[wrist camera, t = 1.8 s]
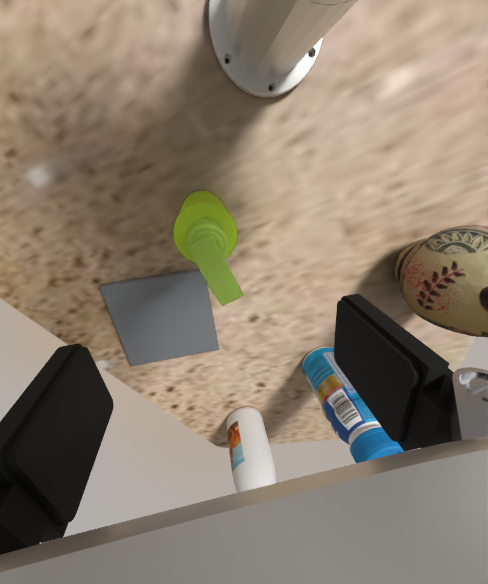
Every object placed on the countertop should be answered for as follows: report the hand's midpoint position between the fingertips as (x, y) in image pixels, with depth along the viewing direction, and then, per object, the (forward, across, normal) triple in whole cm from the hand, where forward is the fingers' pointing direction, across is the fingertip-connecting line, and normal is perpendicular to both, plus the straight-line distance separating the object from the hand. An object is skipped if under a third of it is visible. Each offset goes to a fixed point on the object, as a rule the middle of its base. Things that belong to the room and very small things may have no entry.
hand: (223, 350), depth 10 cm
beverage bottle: (+29, -18, +31) cm, 46 cm away
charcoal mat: (+29, +9, +15) cm, 34 cm away
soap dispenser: (+29, 0, 0) cm, 29 cm away
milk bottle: (+29, -1, +43) cm, 52 cm away
